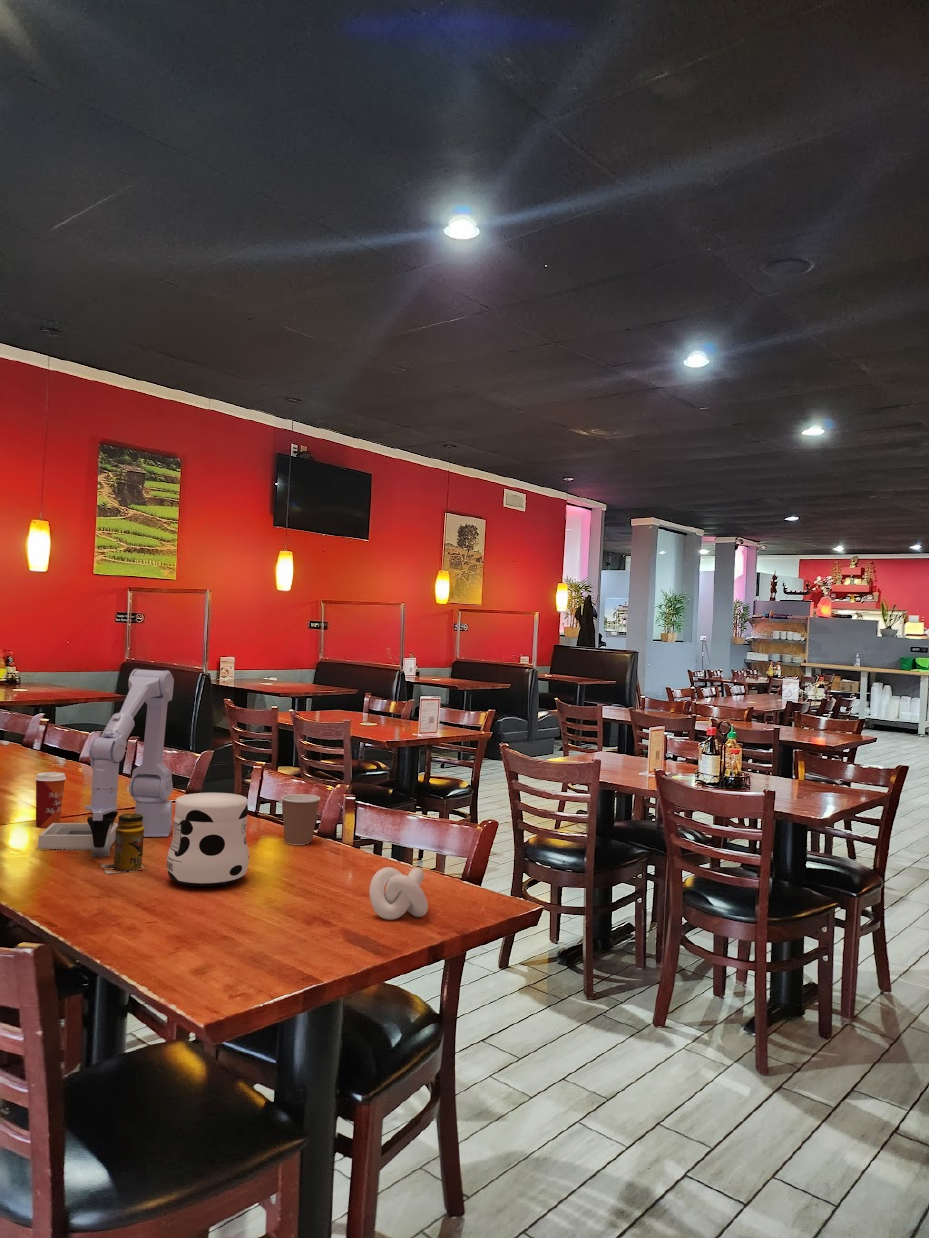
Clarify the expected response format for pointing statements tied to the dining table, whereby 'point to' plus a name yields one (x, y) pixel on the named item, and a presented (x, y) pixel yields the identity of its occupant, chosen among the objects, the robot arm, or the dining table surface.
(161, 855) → the dining table surface
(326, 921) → the dining table surface
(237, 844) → the milk container
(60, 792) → the paper cup
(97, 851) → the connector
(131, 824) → the condiment
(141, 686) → the robot arm
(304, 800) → the coffee cup
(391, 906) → the white knot sculpture
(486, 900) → the dining table surface
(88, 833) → the box
